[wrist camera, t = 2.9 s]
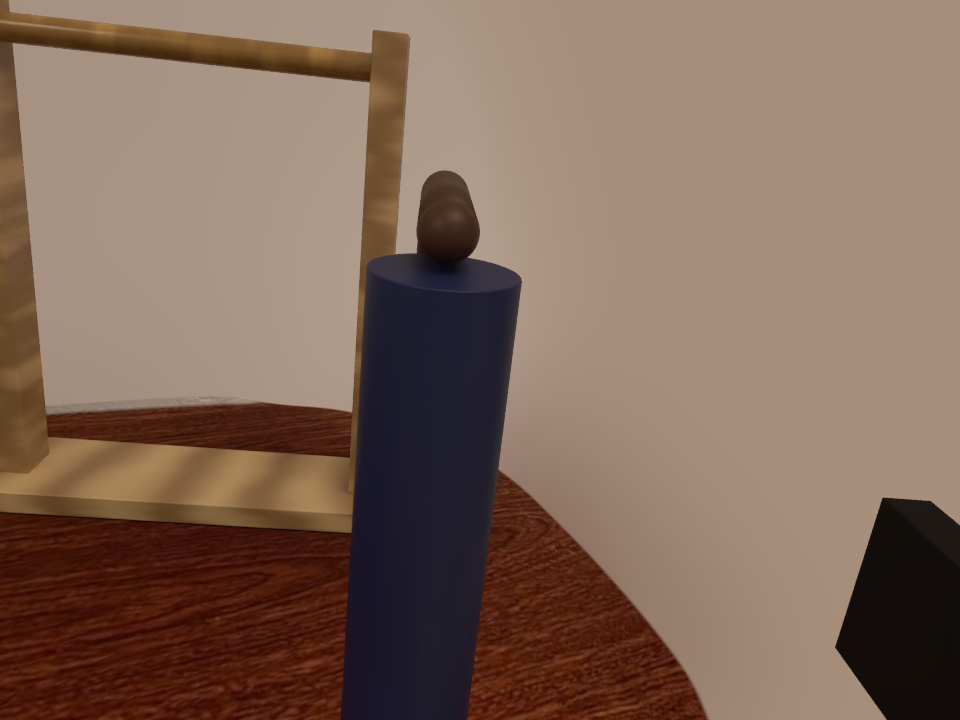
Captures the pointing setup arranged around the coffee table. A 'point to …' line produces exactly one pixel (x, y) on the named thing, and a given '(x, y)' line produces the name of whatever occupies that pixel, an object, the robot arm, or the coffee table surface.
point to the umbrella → (426, 464)
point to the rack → (162, 468)
